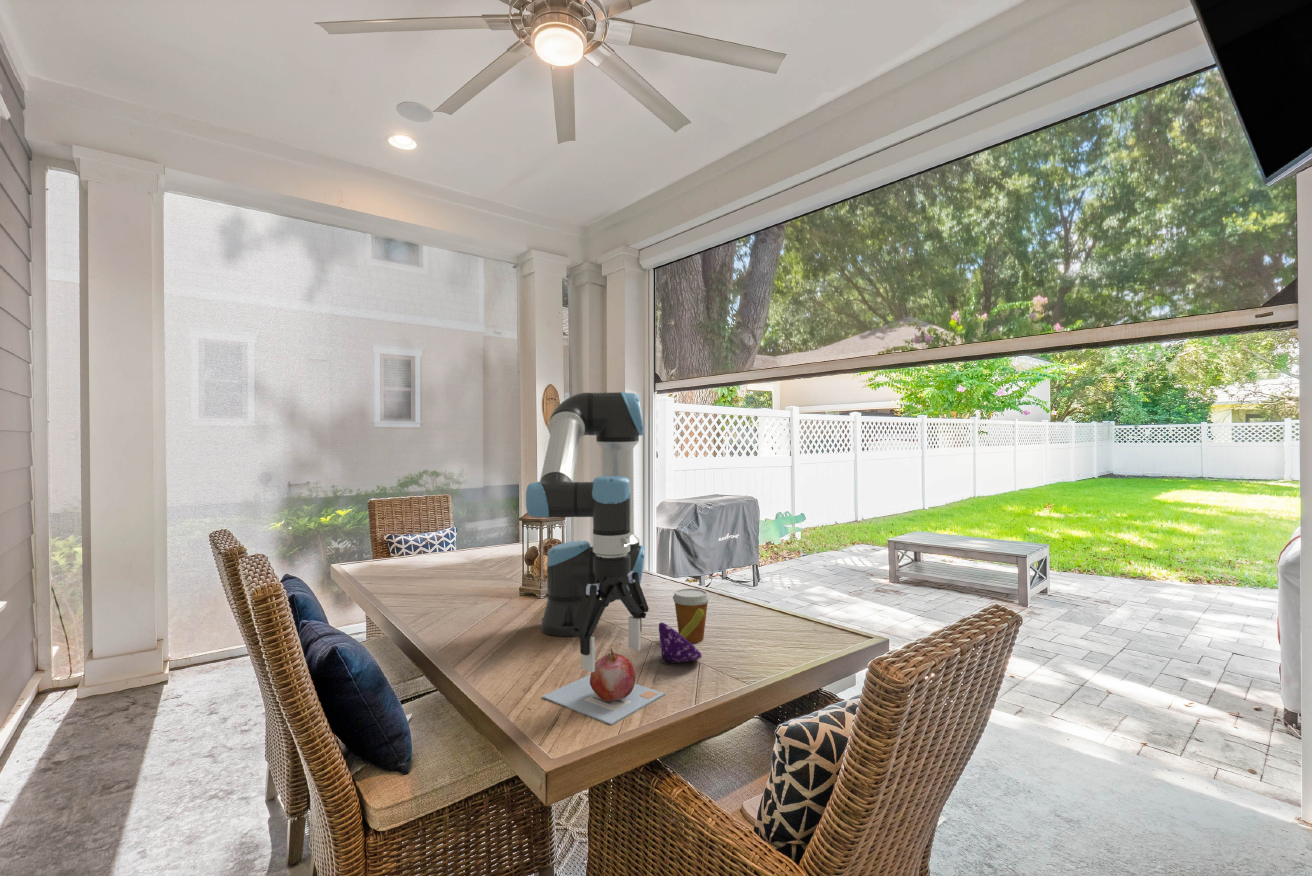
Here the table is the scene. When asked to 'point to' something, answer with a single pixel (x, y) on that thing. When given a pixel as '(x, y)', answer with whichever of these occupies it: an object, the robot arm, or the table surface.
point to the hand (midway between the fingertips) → (612, 659)
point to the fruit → (613, 677)
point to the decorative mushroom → (679, 641)
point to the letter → (592, 705)
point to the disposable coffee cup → (691, 611)
